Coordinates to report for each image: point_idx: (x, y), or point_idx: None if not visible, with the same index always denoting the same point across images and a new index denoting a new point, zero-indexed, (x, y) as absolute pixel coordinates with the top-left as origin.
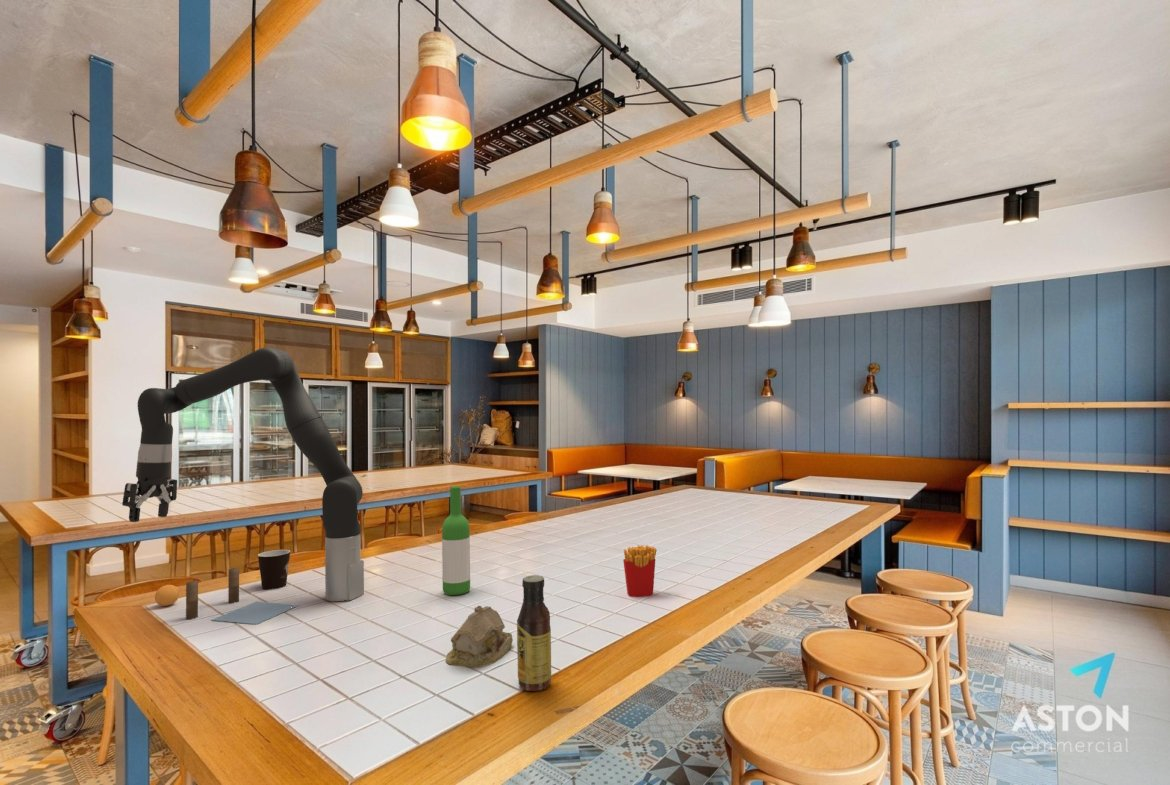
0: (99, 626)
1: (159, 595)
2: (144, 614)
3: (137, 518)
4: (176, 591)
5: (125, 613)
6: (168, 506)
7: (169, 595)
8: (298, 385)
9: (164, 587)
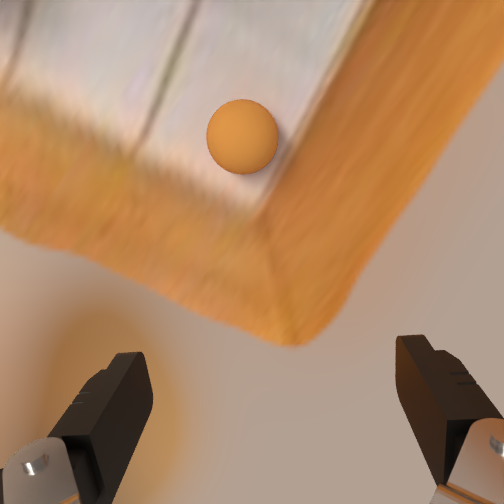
0: (431, 157)
1: (276, 131)
2: (326, 124)
3: (428, 345)
4: (233, 103)
5: (325, 195)
6: (59, 422)
7: (259, 105)
8: None
9: (255, 137)
